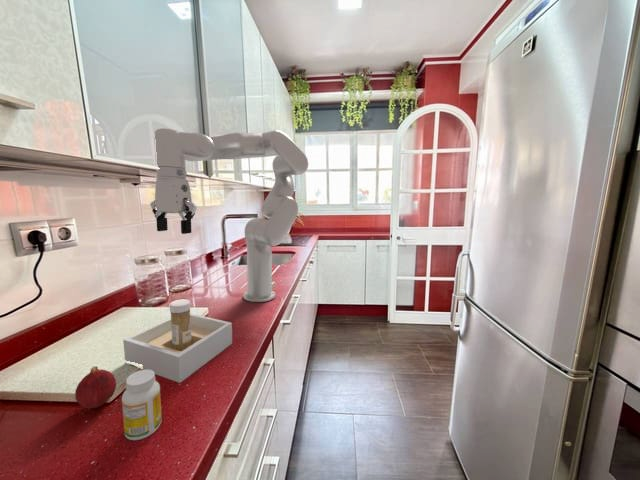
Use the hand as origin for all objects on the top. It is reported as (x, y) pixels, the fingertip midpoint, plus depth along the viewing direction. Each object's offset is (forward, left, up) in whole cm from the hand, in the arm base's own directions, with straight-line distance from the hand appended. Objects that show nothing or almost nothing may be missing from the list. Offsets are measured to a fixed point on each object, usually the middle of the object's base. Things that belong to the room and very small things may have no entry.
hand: (174, 232), depth 80 cm
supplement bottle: (+32, +28, -28) cm, 51 cm away
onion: (+32, +16, -28) cm, 46 cm away
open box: (+13, +16, -28) cm, 35 cm away
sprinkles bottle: (+13, +16, -28) cm, 35 cm away
